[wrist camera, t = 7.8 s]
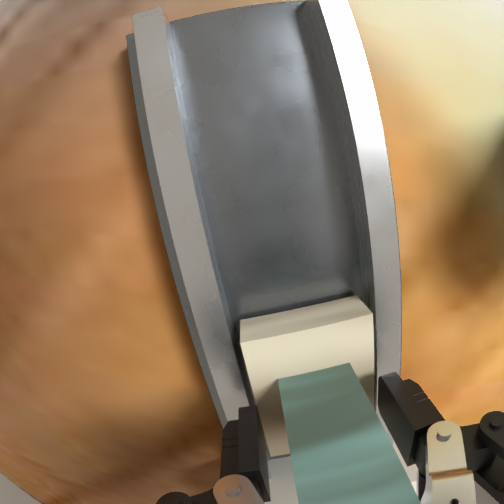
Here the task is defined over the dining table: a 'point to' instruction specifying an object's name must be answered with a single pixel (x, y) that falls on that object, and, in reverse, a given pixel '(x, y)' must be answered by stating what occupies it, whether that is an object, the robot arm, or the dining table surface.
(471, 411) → the dining table surface
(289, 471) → the end cabinet
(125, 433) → the dining table surface
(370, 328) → the carriage
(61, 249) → the dining table surface
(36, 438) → the dining table surface
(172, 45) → the rail bed
